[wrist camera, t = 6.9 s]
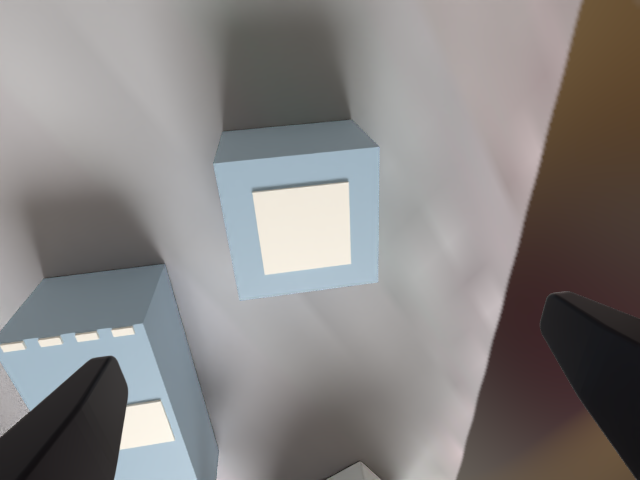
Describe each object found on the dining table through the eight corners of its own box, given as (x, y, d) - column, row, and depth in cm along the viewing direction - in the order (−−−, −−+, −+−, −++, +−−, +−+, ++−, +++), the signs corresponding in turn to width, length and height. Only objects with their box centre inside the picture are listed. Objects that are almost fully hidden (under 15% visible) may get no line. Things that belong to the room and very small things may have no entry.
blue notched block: (111, 469, 23) (79, 567, 19) (16, 282, 17) (-62, 366, 13) (237, 447, 24) (233, 537, 20) (190, 260, 18) (171, 334, 13)
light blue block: (242, 246, 18) (239, 302, 14) (222, 131, 15) (212, 164, 12) (354, 232, 18) (378, 283, 15) (351, 119, 16) (380, 147, 12)
